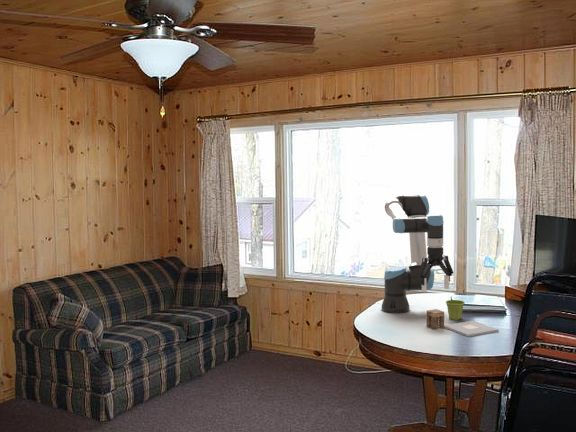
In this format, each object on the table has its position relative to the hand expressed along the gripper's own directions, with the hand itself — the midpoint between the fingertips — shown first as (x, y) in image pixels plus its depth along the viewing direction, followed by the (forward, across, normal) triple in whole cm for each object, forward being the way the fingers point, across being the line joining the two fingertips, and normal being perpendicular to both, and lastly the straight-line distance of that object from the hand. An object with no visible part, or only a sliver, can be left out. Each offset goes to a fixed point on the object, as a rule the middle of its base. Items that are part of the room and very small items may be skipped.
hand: (435, 290), depth 277 cm
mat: (+18, +12, -11) cm, 24 cm away
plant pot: (+19, +19, +8) cm, 28 cm away
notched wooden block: (+18, 0, 0) cm, 18 cm away
